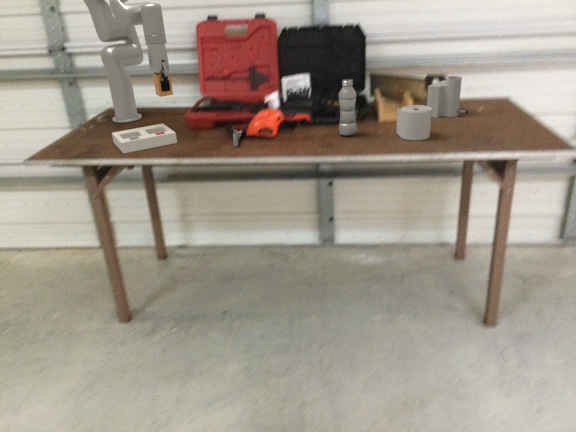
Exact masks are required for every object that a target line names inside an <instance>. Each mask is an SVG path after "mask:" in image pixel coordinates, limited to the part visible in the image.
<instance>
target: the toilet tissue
mask: <svg viewBox="0 0 576 432" xmlns="http://www.w3.org/2000/svg"><path fill="white" fill-rule="evenodd" d="M431 112H432V108H431V107H428V106H427V105H424V104H420V105H419V104H413V105H411V104H410V105H404V106H401V107H400V108H399V107H398V106H396V132H395V133H396V134H397V135H398V136H399V138H401V139H403V140H406V141H423V140H427V139H430V136H431V126H432V125H431V123H432V117H431Z"/></svg>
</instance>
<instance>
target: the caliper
mask: <svg viewBox="0 0 576 432" xmlns="http://www.w3.org/2000/svg"><path fill="white" fill-rule="evenodd" d="M232 132H233V133H232V138H233V140H232V141H233V142H232V143H233V147H234V148H237V147H238V146H239V139H240V138H241V136H242V135H241V133H242V131H241V130H239V131H238V130H237V129H233V131H232Z"/></svg>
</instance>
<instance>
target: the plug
mask: <svg viewBox="0 0 576 432" xmlns="http://www.w3.org/2000/svg"><path fill="white" fill-rule="evenodd" d="M152 75H153V76H152V78H153V83H154V88H155V94H156V96H158V97H160V98H161V97H168V96H172V95H174V93H173V85H172V79H171V73H170V72H169V73H168V77H169V84H170V91H165V92H162V89H161V83H160V81H161V78H160V74H159V73H154V72H153V73H152ZM162 76H163V74H162Z"/></svg>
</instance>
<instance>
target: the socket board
mask: <svg viewBox="0 0 576 432" xmlns="http://www.w3.org/2000/svg"><path fill="white" fill-rule="evenodd" d="M111 137H112V140H113V144H114V145H115V146H116V148H118V150H119V151H120V152H121V153H122V154H129V153H135V152H139V151H140V152H141V151H144V150H148V149H153V148H159V147H163V146H168V145H173V144H178V140H177V139H178V137H177V133H176V132H175V131H174V130H173V129H172V128H170V127H168V126H167V125H166V124H164V123H163V122H162V123H158V124H152V125H147V126H143V127H142V126H141V127H136V128H132V129H130V128H129V129H125V130H121V131H114V132H111Z"/></svg>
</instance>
